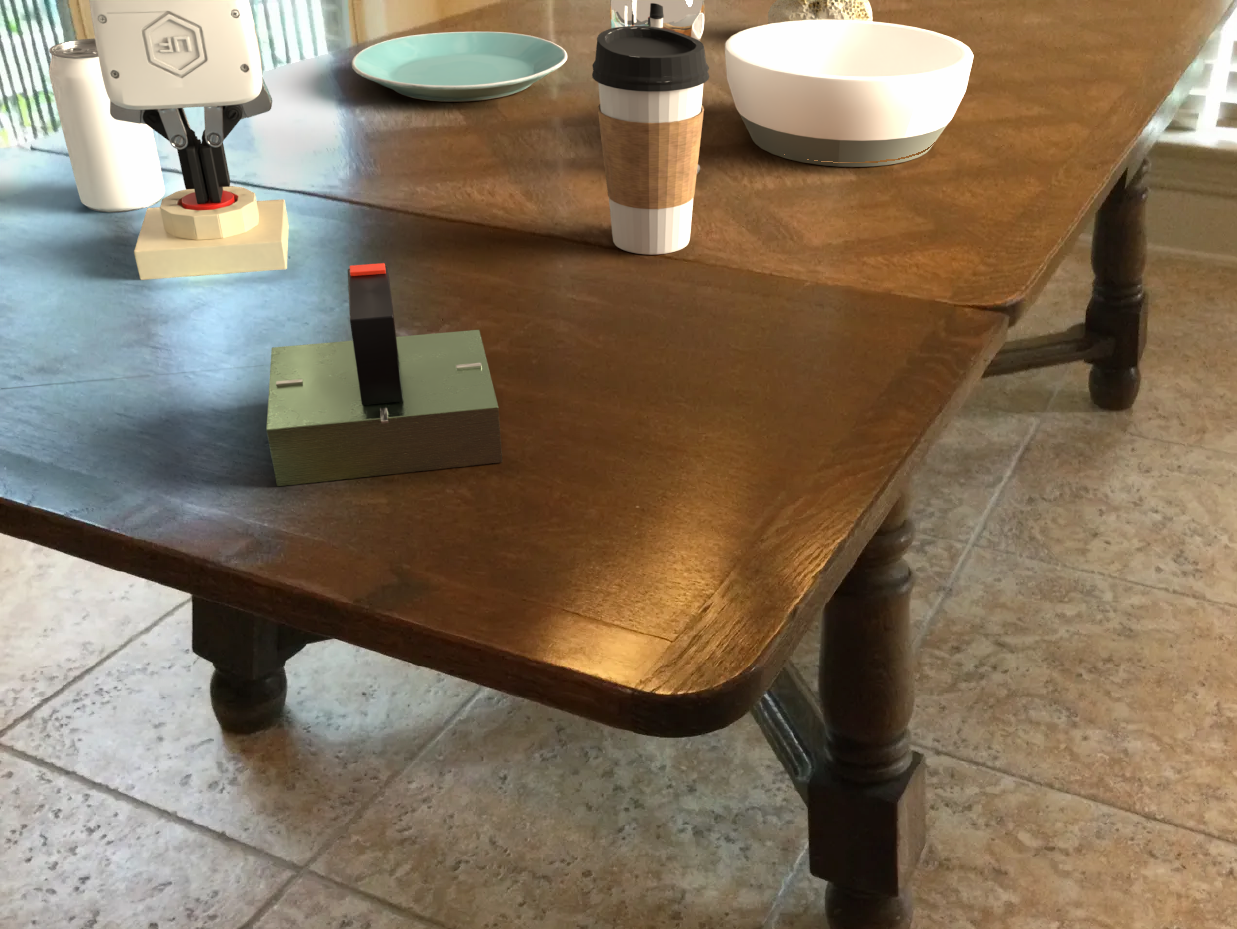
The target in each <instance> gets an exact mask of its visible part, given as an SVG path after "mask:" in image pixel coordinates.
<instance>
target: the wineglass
mask: <svg viewBox="0 0 1237 929" xmlns="http://www.w3.org/2000/svg"><path fill="white" fill-rule="evenodd" d="M705 2H706V1H705V0H610V4H609V19H610V20H609V21H610V29H611V28H616V27H625V26H652V27H658V28H664V29H668V30H672V31H675V32H679V33H682V34H685V35H688V36H690V37H693V38H695V39H697V40H699V41H700V42H701V39H702V37H703V34H704V31H705V30H704V29H705V23H706V22H705V21H706V4H705ZM701 171H702V168H701V165H700V164H699V163H698V166H697V175H696V178H697V177H698V176H699V175H700V174H701Z"/></svg>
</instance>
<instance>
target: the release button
mask: <svg viewBox="0 0 1237 929" xmlns="http://www.w3.org/2000/svg"><path fill="white" fill-rule="evenodd" d="M233 203H235V200H234V196H233V194H232V193H231V192H228V191H224V190H223V193H222V199H221V203H213V201H210V199H208V202H205V204H198V203H197V200H196V195H195V192H193V193H190V194H188V195H186V196H184V197H183V198H182V206H183V208H184V209H189V210H197V211H199V210H214V209H218V208H222V207H226V206H230V205H231V204H233Z"/></svg>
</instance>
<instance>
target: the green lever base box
mask: <svg viewBox="0 0 1237 929" xmlns="http://www.w3.org/2000/svg"><path fill="white" fill-rule="evenodd" d="M396 339H397V347H398V356H399V365H400V373H401V382H402V391H403V401H402V402H392V403H381V404H371V405H362V403H361V396H360V388H359V381H358V374H357V367H356V360H355V353H354V346H353V340H343V341H332V342H331V341H330V342H319V343H308V344H296V345H285V346H284V345H283V346H275V347H274V346H273V347H271V350H270V351H271V352H270V353H271V354H270V366H269V367H270V368H269V383H268V399H267V413H266V414H267V415H266V428H265V429H266V430H265V431H266V434H267V436H266V437H267V441H268V447H269V451H270V457H271V462H272V468H273V472H274V478H275V483H276V486H277V487H286V486H296V485H305V484H314V483H323V482H334V481H342V480H343V481H344V480H351V479H359V478H361V479H362V478H371V477H378V476H389V475H398V474H407V473H416V472H426V471H435V470H444V469H454V468H463V467H473V466H482V465H492V464H499V463H503V450H502V437H501V425H500V413H499V404H498V400H497V395H496V391H495V388H494V384H493V380H492V376H491V372H490V367H489V363H488V359H487V355H486V352H485V347H484V342H483V338H482V335H481V331H480V329H471V330H460V331H449V332H438V333H437V332H436V333H426V334H424V333H423V334H413V335H402V336H396Z"/></svg>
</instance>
